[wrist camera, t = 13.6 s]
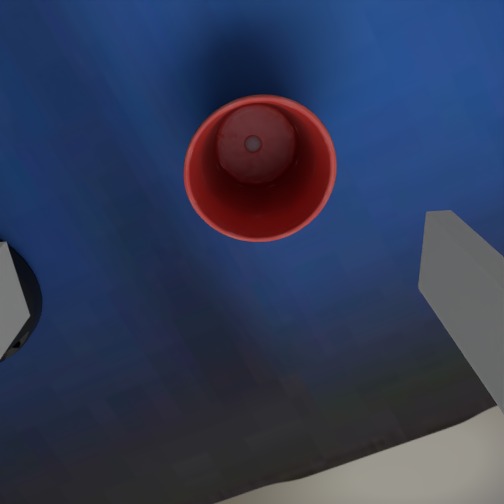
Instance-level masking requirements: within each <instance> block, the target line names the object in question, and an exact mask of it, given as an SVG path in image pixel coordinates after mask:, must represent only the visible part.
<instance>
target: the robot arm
mask: <svg viewBox="0 0 504 504" xmlns="http://www.w3.org/2000/svg"><path fill="white" fill-rule="evenodd" d="M418 288H419V290H420V291H421V293H422V294H423V296H424V297H425V299H426V300H427V302H428V303H429V305H430V306H431V308H432V309H433V311H434V312H435V313H436V315H437V316H438V318H439V319H440V321H441V322H442V324H443V325H444V327H445V328H446V330H447V331H448V333H449V334H450V336H451V337H452V338H453V340H454V341H455V343H456V344H457V346H458V347H459V349H460V350H461V352H462V353H463V355H464V356H465V358H466V359H467V361H468V362H469V363H470V365H471V366H472V368H473V369H474V371H475V372H476V374H477V375H478V377H479V378H480V380H481V381H482V383H483V384H484V385H485V387H486V388H487V390H488V391H489V393H490V394H491V396H492V397H493V399H494V400H495V402H496V403H497V405H498V406H499V408H500V409H501V410H502V412H503V413H504V257H503V256H502V255H501V254H500V253H498V252H497V251H496V250H495V249H494V248H493V247H492V246H491V245H489V244H488V243H487V242H486V241H485V240H484V239H483V238H482V237H480V236H479V235H478V234H477V233H476V232H475V231H474V230H473V229H471V228H470V227H469V226H468V225H467V224H466V223H465V222H464V221H462V220H461V219H460V218H459V217H458V216H457V215H456V214H455V213H453V212H452V211H451V210H446V211H431V212H426V219H425V228H424V238H423V247H422V257H421V266H420V275H419V285H418ZM41 311H42V297H41V291H40V288H39V285H38V282H37V280H36V278H35V276H34V274H33V272H32V271H31V269H30V268H29V266H28V265H27V263H26V262H25V261H24V260H23V259H22V258H21V257H20V256H19V255H18V254H17V253H16V252H15V251H14V250H13V249H12V248H11V247H9V246H8V245H7V242H2V241H1V240H0V363H1V362H2V361H4V360H5V359H7V358H9V357H10V356H11V355H13V354H14V353H16V352H17V351H18V350H19V349H20V348H21V347H22V346H23V345H24V344H25V343H26V341H27V340H28V338H29V337H30V335H31V334H32V332H33V331H34V329H35V328H36V326H37V324H38V322H39V319H40V316H41Z"/></svg>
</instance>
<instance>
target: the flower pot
mask: <svg viewBox="0 0 504 504" xmlns="http://www.w3.org/2000/svg"><path fill="white" fill-rule="evenodd" d="M335 178H336V153H335V149H334V145H333V142H332V139H331V137H330V135H329V133H328V131H327V129H326V127H325V126H324V125H323V123H322V122H321V121H320V119H319V118H318V117H317V116H316V115H315V114H314V113H313V112H311V111H310V110H309V109H308V108H306V107H305V106H303V105H302V104H300V103H298V102H296V101H294V100H291V99H289V98H286V97H282V96H277V95H269V94H258V95H250V96H245V97H242V98H238V99H236V100H233V101H231V102H229V103H227V104H225V105H223V106H222V107H220V108H218V109H217V110H216V111H214V112H213V113H212V114H211V115H210V116H209V117H207V118H206V119H205V121H204V122H203V123H202V124H201V125H200V126H199V128H198V129H197V130H196V132H195V134H194V135H193V137H192V139H191V141H190V143H189V146H188V148H187V152H186V155H185V161H184V184H185V189H186V193H187V196H188V198H189V200H190V202H191V204H192V206H193V208H194V209H195V211H196V212H197V213H198V215H199V216H200V217H201V218H202V219H203V220H204V221H205V222H206V223H207V224H209V225H210V226H211V227H212V228H214V229H215V230H217V231H219V232H220V233H222V234H224V235H227V236H229V237H232V238H235V239H239V240H244V241H251V242H265V241H273V240H277V239H281V238H284V237H286V236H289V235H291V234H293V233H295V232H297V231H299V230H300V229H302V228H303V227H304V226H306V225H307V224H308V223H310V222H311V221H312V220H313V219H314V218H315V217H316V216H317V215H318V214H319V213H320V211H321V210H322V209H323V207H324V206H325V204H326V202H327V200H328V199H329V197H330V194H331V192H332V189H333V186H334V183H335Z"/></svg>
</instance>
